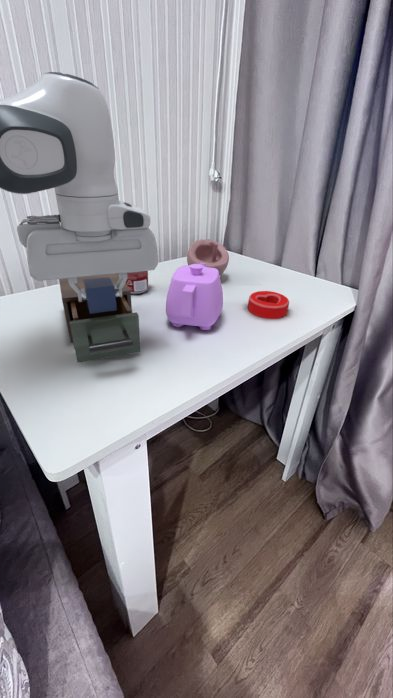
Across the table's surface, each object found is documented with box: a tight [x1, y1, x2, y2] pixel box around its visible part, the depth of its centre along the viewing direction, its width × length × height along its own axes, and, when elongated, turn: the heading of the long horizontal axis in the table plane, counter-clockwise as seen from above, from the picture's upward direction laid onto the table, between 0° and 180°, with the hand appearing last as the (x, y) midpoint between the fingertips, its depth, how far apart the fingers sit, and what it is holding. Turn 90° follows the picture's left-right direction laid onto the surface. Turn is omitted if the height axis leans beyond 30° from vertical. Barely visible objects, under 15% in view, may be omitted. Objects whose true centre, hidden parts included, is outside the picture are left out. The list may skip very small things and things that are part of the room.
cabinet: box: [58, 274, 133, 344], centre depth 71 cm, size 15×13×10 cm
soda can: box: [126, 271, 149, 295], centre depth 85 cm, size 7×7×12 cm
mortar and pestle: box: [186, 238, 230, 277], centre depth 95 cm, size 12×12×12 cm
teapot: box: [165, 263, 224, 331], centre depth 73 cm, size 20×12×13 cm, turn 169°
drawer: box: [70, 295, 142, 364], centre depth 61 cm, size 18×11×8 cm, turn 22°
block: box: [84, 277, 117, 314], centre depth 57 cm, size 4×4×4 cm
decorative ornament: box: [247, 290, 290, 320], centre depth 81 cm, size 10×10×3 cm
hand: (100, 298), depth 57 cm, fingers closed on block, 4 cm apart
